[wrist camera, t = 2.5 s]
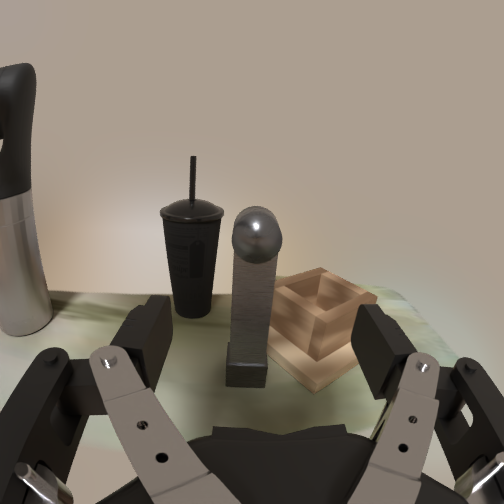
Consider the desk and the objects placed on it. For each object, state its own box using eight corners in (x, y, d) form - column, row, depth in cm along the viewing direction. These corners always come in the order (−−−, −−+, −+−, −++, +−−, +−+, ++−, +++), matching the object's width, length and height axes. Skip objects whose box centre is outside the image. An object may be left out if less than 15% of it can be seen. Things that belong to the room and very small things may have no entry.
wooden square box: (235, 325, 36) (237, 279, 34) (312, 297, 44) (319, 258, 41) (313, 393, 26) (328, 344, 23) (386, 341, 33) (401, 298, 31)
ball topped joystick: (225, 386, 26) (231, 214, 20) (227, 363, 29) (233, 204, 23) (264, 387, 26) (286, 218, 20) (263, 364, 29) (281, 207, 23)
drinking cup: (230, 304, 41) (238, 156, 33) (201, 331, 34) (203, 159, 27) (186, 289, 43) (186, 153, 36) (154, 312, 37) (146, 157, 30)
